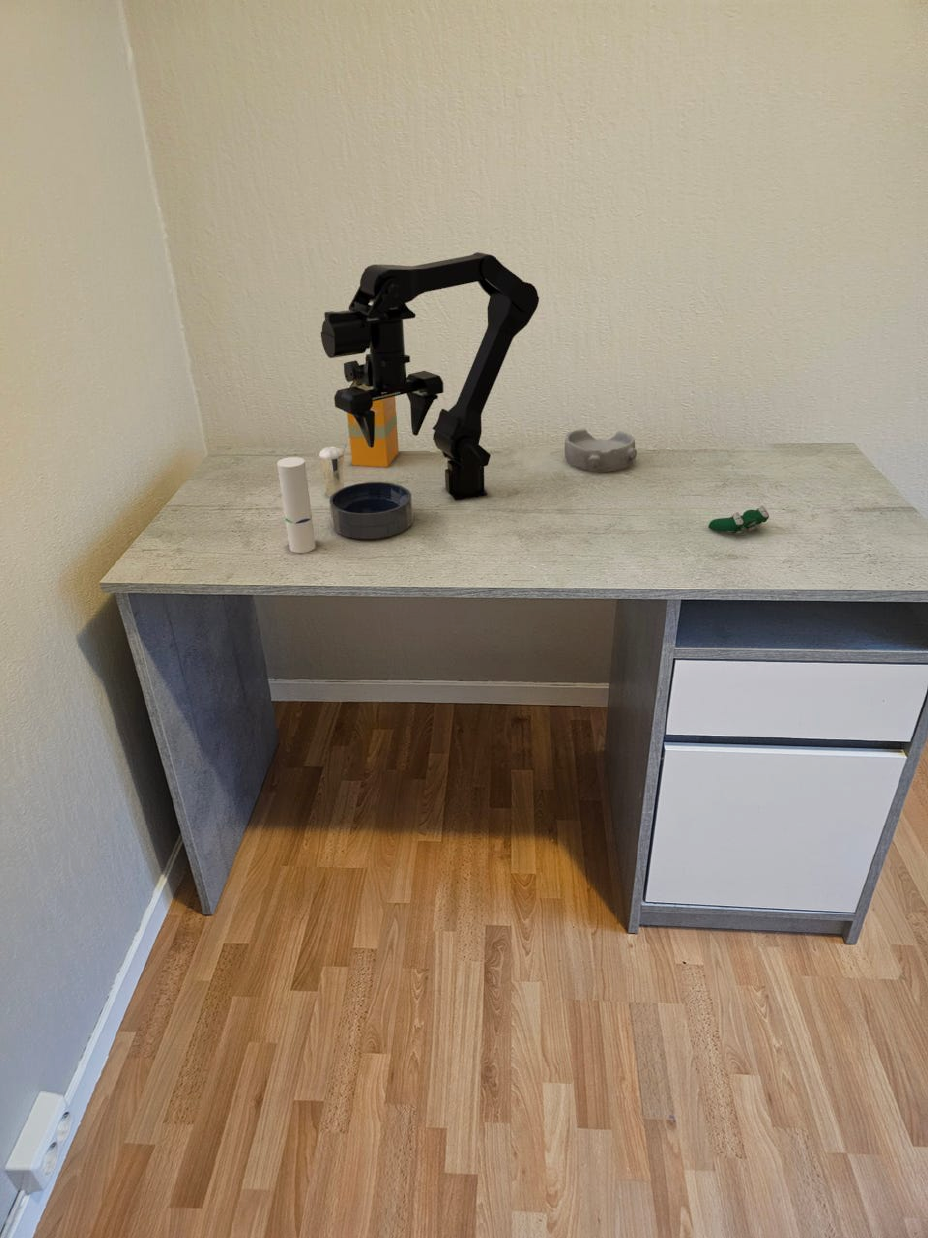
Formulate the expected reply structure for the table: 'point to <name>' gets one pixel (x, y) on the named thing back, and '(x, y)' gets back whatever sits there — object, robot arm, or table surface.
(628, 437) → the dish
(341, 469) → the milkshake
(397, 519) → the bowl
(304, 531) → the tube
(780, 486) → the table surface
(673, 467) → the table surface
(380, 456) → the orange juice
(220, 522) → the table surface
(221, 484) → the table surface
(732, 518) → the green elongated piece
